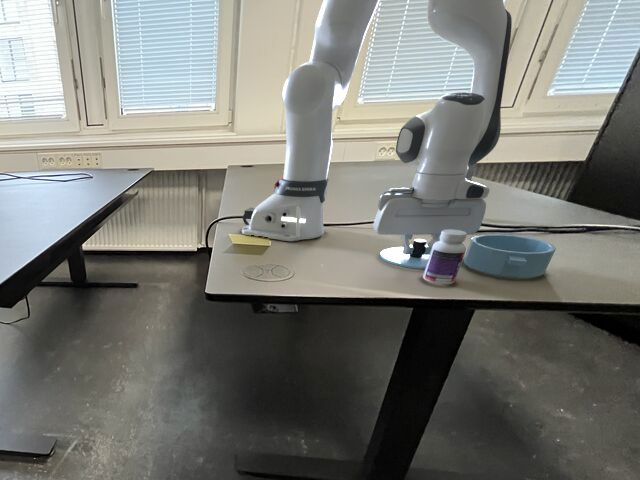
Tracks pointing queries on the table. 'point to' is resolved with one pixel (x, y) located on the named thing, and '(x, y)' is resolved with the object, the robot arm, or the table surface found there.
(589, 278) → the table surface
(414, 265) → the pan lid
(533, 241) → the pan
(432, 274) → the pill bottle
